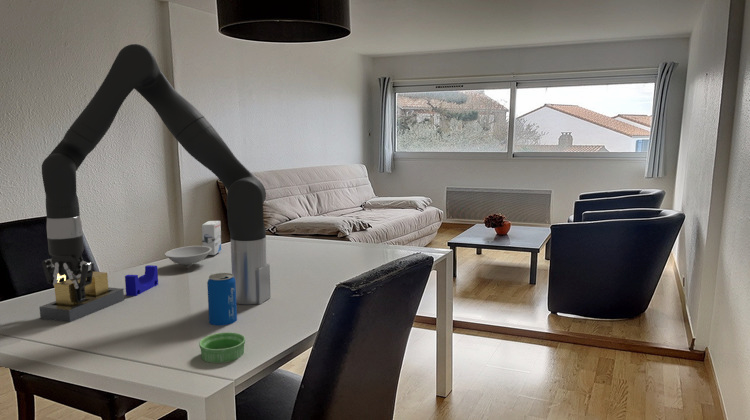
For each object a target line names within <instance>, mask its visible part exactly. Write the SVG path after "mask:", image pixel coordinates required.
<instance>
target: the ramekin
mask: <svg viewBox="0 0 750 420" xmlns="http://www.w3.org/2000/svg"><path fill="white" fill-rule="evenodd" d="M245 343H246V336H245V335H243V334H241V333H238V332H231V331H230V332H229V331H227V332H218V333H213V334H209V335H207V336H205V337H203V338H201V340H200V341H199V343H198V344H199V345H198V346H199V349H200V353H201V354H200V355H201V359H202V360H203V361H205V362H207V363H212V364H213V363H214V364H215V363H216V364H218V363H219V364H221V363H229V362H232V361H234V360H237V359H239V358H241V357H242V356H244V355H245V354H244V353H245Z"/></svg>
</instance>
